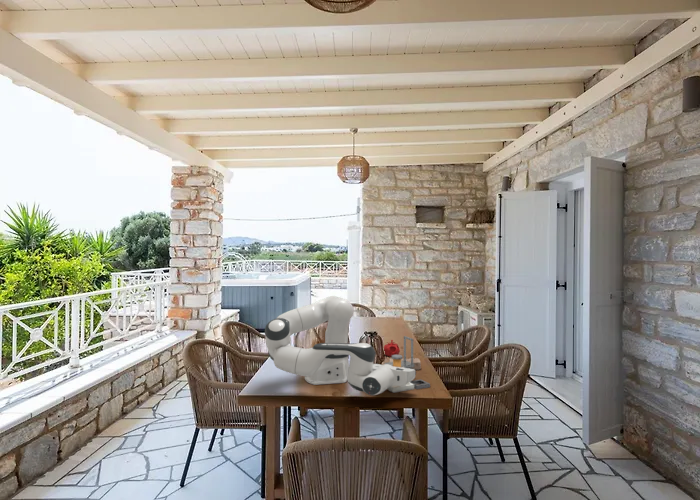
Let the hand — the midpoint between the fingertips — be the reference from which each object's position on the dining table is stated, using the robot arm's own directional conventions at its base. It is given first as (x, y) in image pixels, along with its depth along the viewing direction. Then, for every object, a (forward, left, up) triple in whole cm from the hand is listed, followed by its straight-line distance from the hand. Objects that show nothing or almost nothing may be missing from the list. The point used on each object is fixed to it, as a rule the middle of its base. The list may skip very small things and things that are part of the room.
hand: (397, 367), depth 180 cm
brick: (+19, +25, -9) cm, 33 cm away
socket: (+9, -3, -9) cm, 13 cm away
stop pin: (-1, -1, -6) cm, 7 cm away
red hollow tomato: (+26, +50, -9) cm, 57 cm away
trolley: (+8, +12, -9) cm, 16 cm away
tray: (-1, 0, -9) cm, 9 cm away
